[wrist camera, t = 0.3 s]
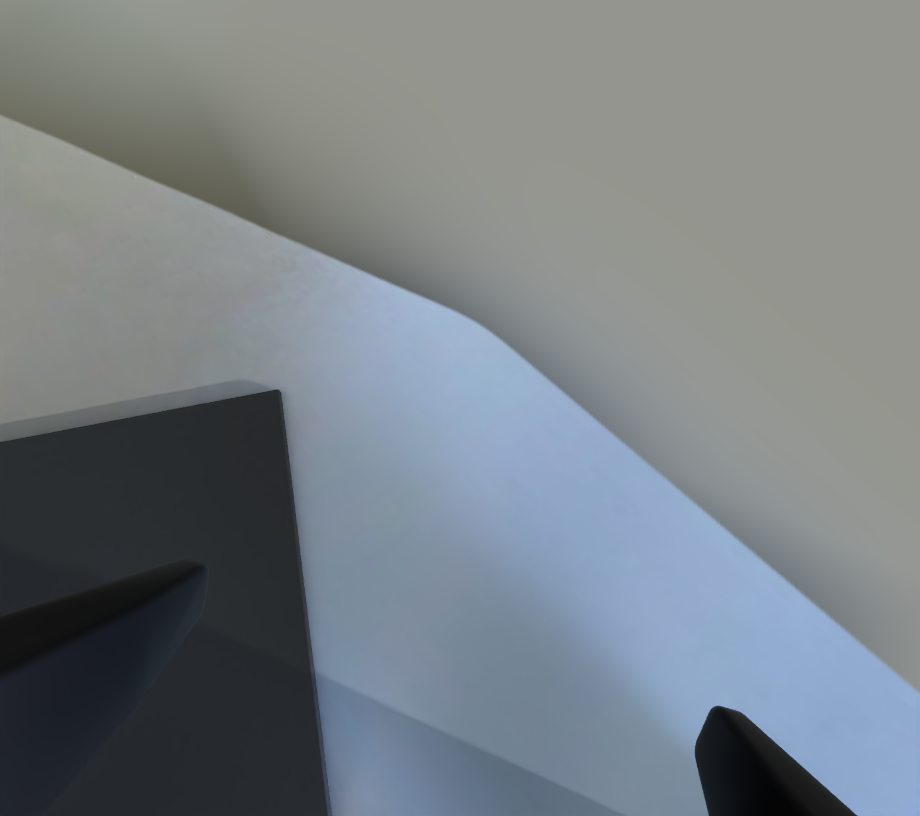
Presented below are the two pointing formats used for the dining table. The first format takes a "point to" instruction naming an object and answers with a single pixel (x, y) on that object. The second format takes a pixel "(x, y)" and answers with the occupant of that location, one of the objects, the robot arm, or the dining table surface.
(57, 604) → the robot arm
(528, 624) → the dining table surface
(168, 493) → the mat
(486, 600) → the dining table surface
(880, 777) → the dining table surface
